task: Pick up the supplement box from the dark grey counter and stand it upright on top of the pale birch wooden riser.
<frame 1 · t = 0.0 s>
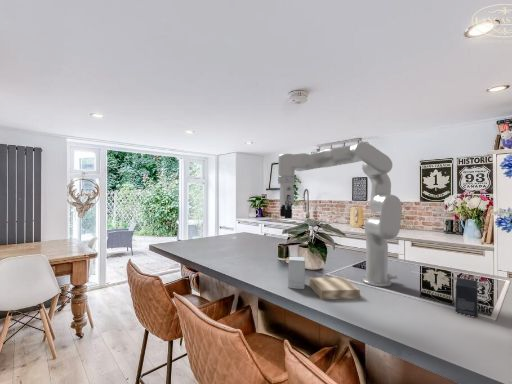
hand: (285, 217, 123), 31 cm above the countertop, tool pointing down, fingers open, 9 cm apart
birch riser: (332, 291, 115), on the countertop
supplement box: (296, 286, 121), on the countertop
small box: (466, 311, 97), on the countertop
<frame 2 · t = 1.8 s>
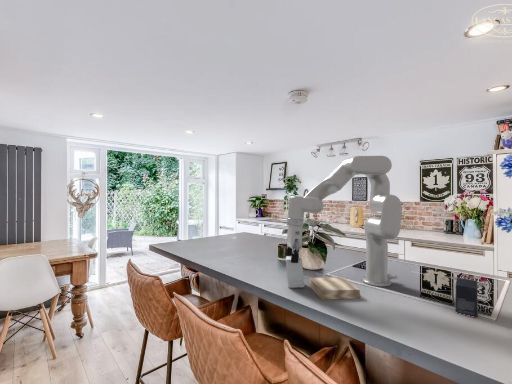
hand: (291, 260, 121), 12 cm above the countertop, tool pointing down, fingers open, 9 cm apart
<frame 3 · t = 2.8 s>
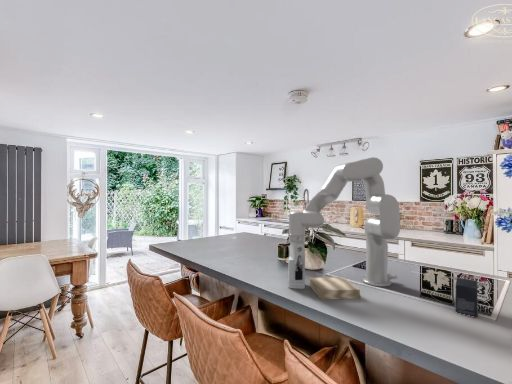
hand: (296, 276, 121), 4 cm above the countertop, tool pointing down, fingers closed on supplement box, 8 cm apart
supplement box: (296, 286, 121), on the countertop, touching gripper
everything else where it was.
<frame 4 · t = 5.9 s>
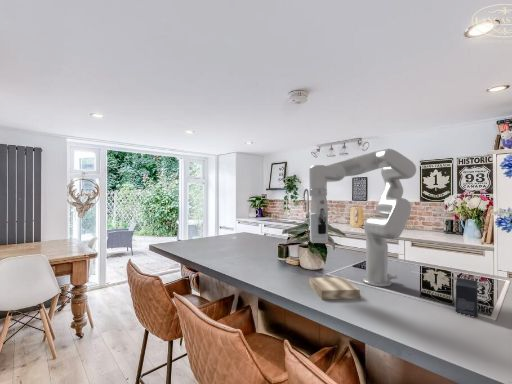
hand: (318, 232, 118), 25 cm above the countertop, tool pointing down, fingers closed on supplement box, 8 cm apart
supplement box: (319, 242, 118), point 21 cm above the countertop, touching gripper
everything else where it was.
when the fingers open (8 cm above the countertop, at t = 9.2 s): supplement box stays where it is, resting on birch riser.
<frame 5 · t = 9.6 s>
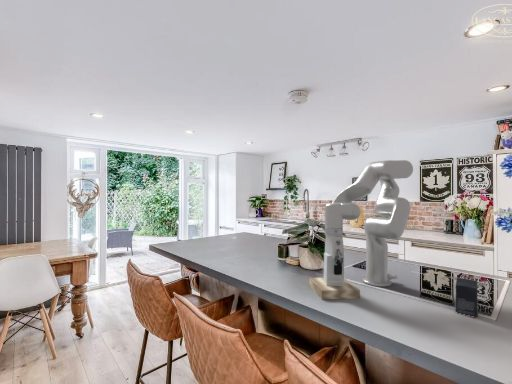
hand: (333, 271, 115), 9 cm above the countertop, tool pointing down, fingers open, 9 cm apart
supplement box: (333, 283, 115), point 3 cm above the countertop, touching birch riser
everything else where it was.
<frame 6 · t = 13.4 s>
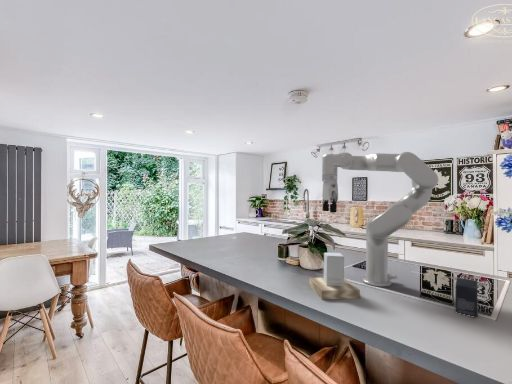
hand: (329, 211, 135), 33 cm above the countertop, tool pointing down, fingers open, 9 cm apart
nothing on the countertop moved.
at the end: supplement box inside the target area on the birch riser (0.4 cm from its centre), point 3.3 cm above the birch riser's base; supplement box tilted 0°; the gripper is holding nothing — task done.
